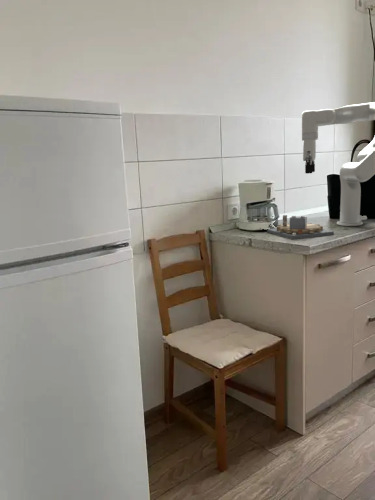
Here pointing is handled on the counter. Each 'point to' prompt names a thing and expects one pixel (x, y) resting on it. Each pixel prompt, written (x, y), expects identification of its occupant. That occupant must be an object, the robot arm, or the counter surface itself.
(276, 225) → the ceramic mug
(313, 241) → the counter surface
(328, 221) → the counter surface
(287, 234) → the sprocket base
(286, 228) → the sprocket disc
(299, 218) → the grey block
